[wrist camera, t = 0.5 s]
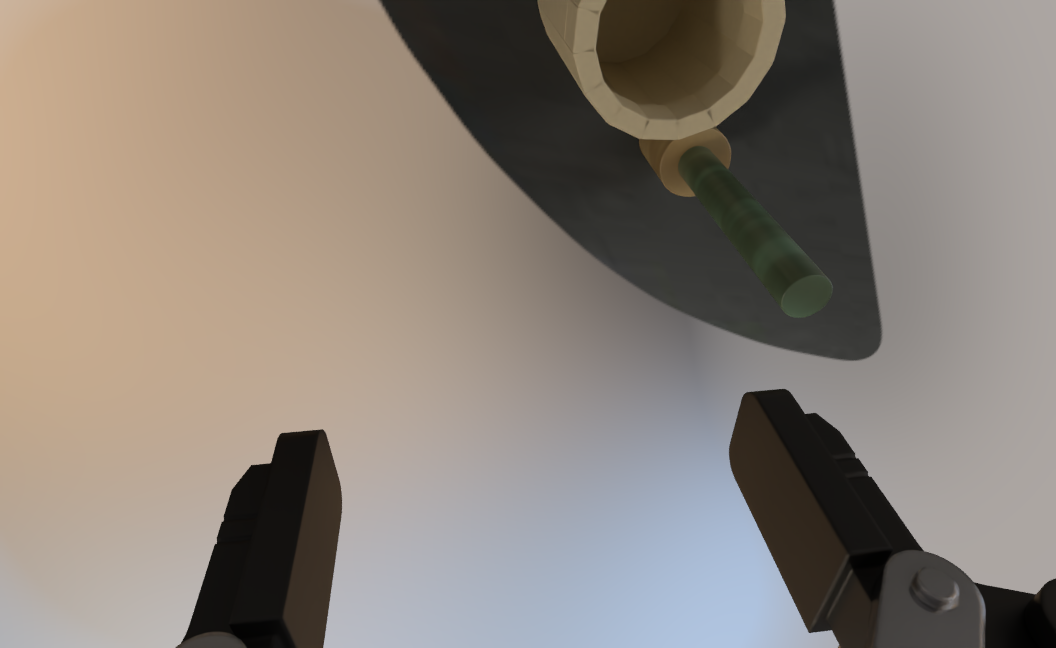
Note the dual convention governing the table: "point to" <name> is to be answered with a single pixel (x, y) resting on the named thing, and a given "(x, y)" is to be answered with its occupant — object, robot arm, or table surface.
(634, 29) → the jar
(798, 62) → the table surface
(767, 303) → the table surface
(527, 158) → the table surface
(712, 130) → the brush
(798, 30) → the table surface
